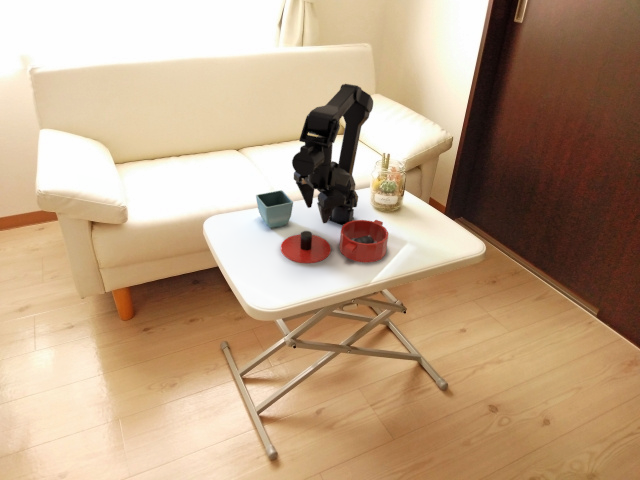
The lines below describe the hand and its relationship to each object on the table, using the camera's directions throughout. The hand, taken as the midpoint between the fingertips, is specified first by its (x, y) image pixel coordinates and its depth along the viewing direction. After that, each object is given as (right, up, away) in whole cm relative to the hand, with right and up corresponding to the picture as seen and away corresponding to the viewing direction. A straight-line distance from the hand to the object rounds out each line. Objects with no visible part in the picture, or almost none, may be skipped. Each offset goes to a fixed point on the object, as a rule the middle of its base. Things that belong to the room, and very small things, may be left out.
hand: (316, 214), depth 123 cm
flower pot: (-13, -2, +18) cm, 22 cm away
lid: (-3, -9, +6) cm, 11 cm away
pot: (+13, -10, +8) cm, 18 cm away
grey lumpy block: (+13, -10, +8) cm, 18 cm away
